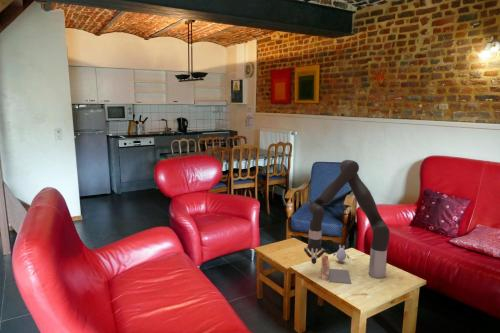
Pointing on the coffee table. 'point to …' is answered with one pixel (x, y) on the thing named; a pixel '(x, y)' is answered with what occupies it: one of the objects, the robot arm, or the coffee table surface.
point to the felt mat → (339, 276)
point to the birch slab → (325, 267)
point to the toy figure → (341, 254)
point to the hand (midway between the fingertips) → (313, 263)
